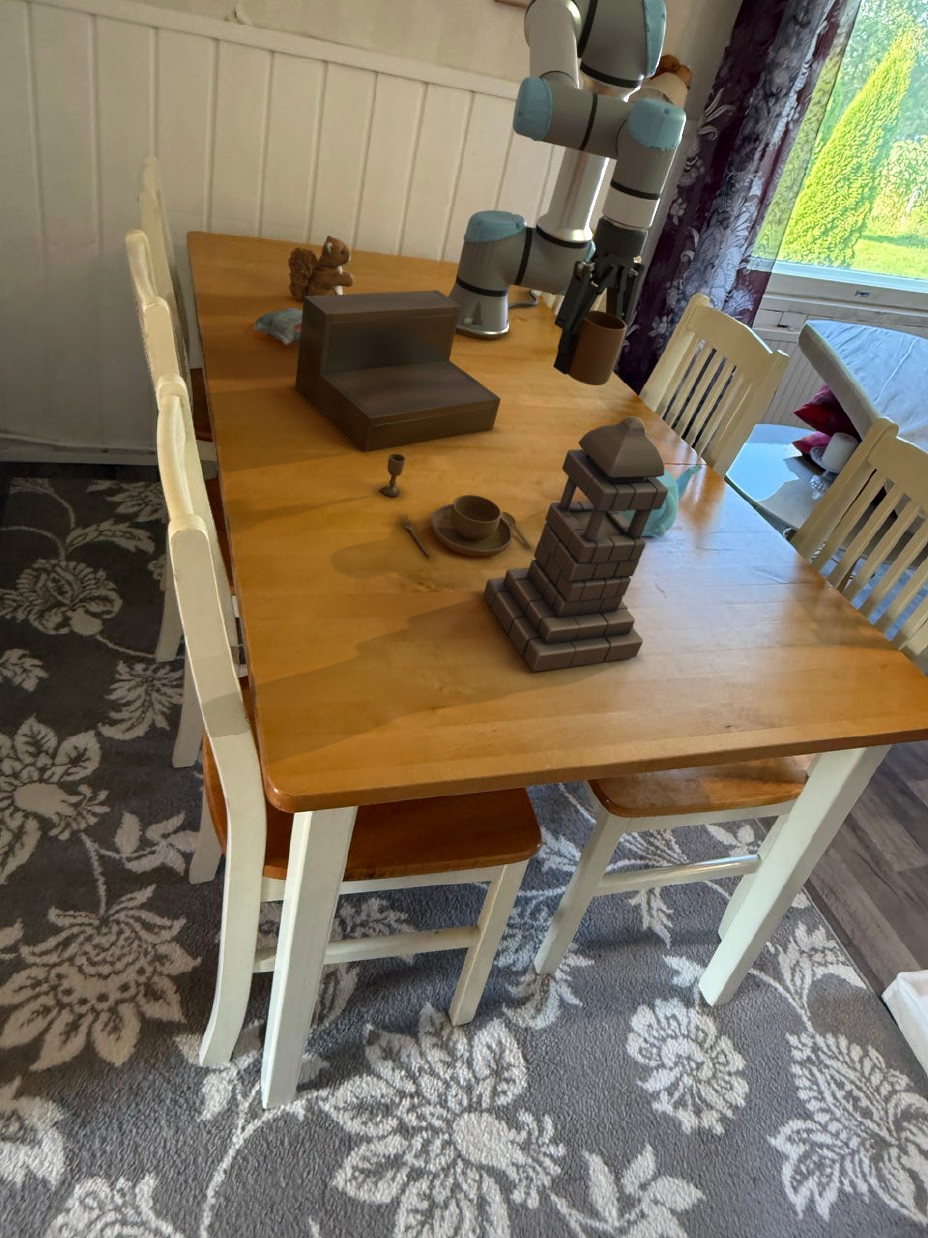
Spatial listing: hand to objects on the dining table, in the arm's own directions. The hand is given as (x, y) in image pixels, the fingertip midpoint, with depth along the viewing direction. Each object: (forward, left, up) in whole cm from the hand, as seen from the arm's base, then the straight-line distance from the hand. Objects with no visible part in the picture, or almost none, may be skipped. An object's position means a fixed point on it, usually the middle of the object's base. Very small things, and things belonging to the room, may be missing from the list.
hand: (578, 367), depth 139 cm
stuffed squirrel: (+8, -66, -16) cm, 68 cm away
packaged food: (+23, -50, -16) cm, 57 cm away
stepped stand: (+19, -21, -16) cm, 32 cm away
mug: (-1, 0, -1) cm, 1 cm away
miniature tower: (+32, +36, -16) cm, 51 cm away
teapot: (+2, +22, -16) cm, 27 cm away
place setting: (+30, +11, -16) cm, 36 cm away
